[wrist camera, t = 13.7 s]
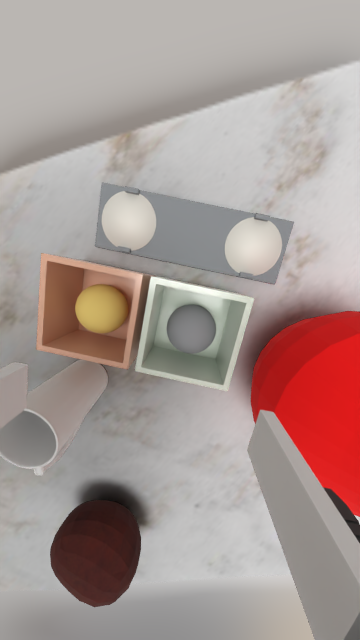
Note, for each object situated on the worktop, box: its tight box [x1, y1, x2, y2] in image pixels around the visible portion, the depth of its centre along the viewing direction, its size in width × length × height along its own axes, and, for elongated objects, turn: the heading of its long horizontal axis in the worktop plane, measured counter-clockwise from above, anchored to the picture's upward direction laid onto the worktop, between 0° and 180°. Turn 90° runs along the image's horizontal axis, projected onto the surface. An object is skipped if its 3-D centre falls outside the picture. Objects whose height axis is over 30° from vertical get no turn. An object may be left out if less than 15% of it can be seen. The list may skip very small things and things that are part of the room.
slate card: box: [95, 183, 294, 284], centre depth 25 cm, size 24×8×1 cm, turn 78°
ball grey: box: [167, 304, 216, 354], centre depth 24 cm, size 6×6×6 cm
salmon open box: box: [36, 253, 157, 370], centre depth 24 cm, size 10×10×8 cm
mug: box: [0, 359, 108, 476], centre depth 25 cm, size 10×7×12 cm, turn 176°
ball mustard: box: [75, 284, 128, 333], centre depth 24 cm, size 6×6×6 cm
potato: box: [50, 500, 141, 607], centre depth 30 cm, size 11×13×10 cm
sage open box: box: [135, 276, 254, 392], centre depth 24 cm, size 10×10×8 cm
